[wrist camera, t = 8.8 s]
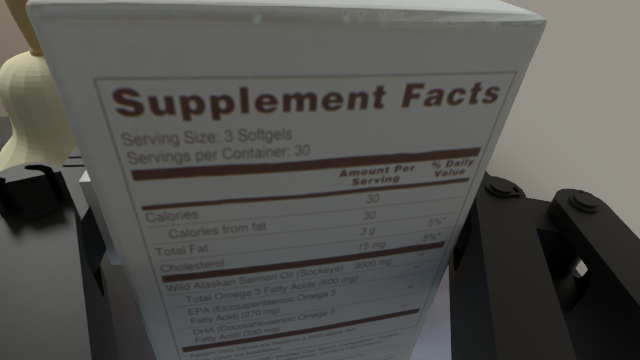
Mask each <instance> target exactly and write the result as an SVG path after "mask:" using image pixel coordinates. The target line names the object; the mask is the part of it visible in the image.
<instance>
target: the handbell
mask: <svg viewBox="0 0 640 360" xmlns="http://www.w3.org/2000/svg"><path fill="white" fill-rule="evenodd" d="M5 2H6V5H7V6H8V8H9V10H10V12H11V14H12V16H13V18H14V20H15V21H16V23H17V25H18V27H19V28H20V30H21V32H22V34H23V36H24V37H25V39H26V41H27V42H28V45H29V46H30V49H29V51H28V52H25V53H22V54H19V55H16V56H15V57H13V58H11V59H9V60H7V61H6V62H5V63H4V64H3V66H2V67H1V69H0V100H1V103H2V105H3V106H4V108H5V110H6V112H7V114H8V116H9V118H10V121H11V123H12V127H13V135H12V137H11V138H10V140H9V141H8V142H7V143H6V145H5V146H4V147H3V149H2V150H1V152H0V172H1V171H3V170H5V169H7V168H9V167H12V166H16V165H19V164H23V163H29V162H38V161H39V162H50V163H53V164H55V165H57V166H58V167H59V169H60V168H61V167H63V166H62V165H63V164H64V162H65V161H66V159H69V155H70V154H71V152H72V151H73V150H74V148H75V147H76V146H77V142H76V140H75V138H74V136H73V133H72V131H71V129H70V126H69V123H68V120H67V117H66V114H65V111H64V109H63V106H62V103H61V100H60V97H59V95H58V92H57V89H56V87H55V84H54V81H53V79H52V76H51V73H50V71H49V68H48V65H47V63H46V60H45V57H44V55H43V52H42V50H41V47H40V44H39V42H38V39H37V37H36V34H35V31H34V29H33V27H32V24H31V22H30V20H29V18H28V15H27V13H26V3H27V2H28V0H5Z"/></svg>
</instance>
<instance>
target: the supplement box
mask: <svg viewBox="0 0 640 360" xmlns="http://www.w3.org/2000/svg"><path fill="white" fill-rule="evenodd" d="M26 13H27V15H28V18H29V20H30V22H31V24H32V27H33V29H34V31H35V34H36V37H37V39H38V42H39V44H40V47H41V50H42V52H43V55H44V57H45V60H46V63H47V65H48V68H49V71H50V73H51V76H52V79H53V81H54V84H55V87H56V89H57V92H58V95H59V97H60V100H61V103H62V106H63V109H64V111H65V114H66V117H67V120H68V123H69V126H70V129H71V131H72V133H73V136H74V138H75V140H76V142H77V145H78V147H79V150H80V153H81V156H82V159H83V162H84V165H85V168H86V170H87V173H88V175H89V178H90V181H91V183H92V186H93V188H94V191H95V193H96V196H97V198H98V201H99V204H100V206H101V209H102V212H103V215H104V218H105V221H106V224H107V226H108V229H109V232H110V235H111V237H112V240H113V243H114V246H115V249H116V251H117V254H118V257H119V260H120V262H121V265H122V268H123V271H124V273H125V276H126V279H127V281H128V284H129V287H130V290H131V292H132V295H133V298H134V300H135V303H136V305H137V308H138V311H139V313H140V316H141V319H142V321H143V324H144V327H145V329H146V332H147V335H148V337H149V340H150V342H151V345H152V347H153V350H154V353H155V356H156V358H157V360H409V358H410V356H411V353H412V351H413V348H414V346H415V343H416V341H417V338H418V336H419V334H420V331H421V328H422V326H423V324H424V322H425V319H426V316H427V314H428V311H429V309H430V307H431V304H432V302H433V300H434V297H435V294H436V292H437V290H438V287H439V285H440V282H441V279H442V277H443V274H444V272H445V270H446V267H447V265H448V262H449V260H450V257H451V255H452V252H453V250H454V248H455V245H456V243H457V240H458V238H459V235H460V232H461V230H462V228H463V226H464V223H465V220H466V217H467V215H468V213H469V210H470V208H471V205H472V203H473V200H474V198H475V196H476V193H477V191H478V188H479V186H480V183H481V181H482V178H483V176H484V174H485V171H486V169H487V166H488V164H489V161H490V159H491V156H492V154H493V151H494V149H495V146H496V144H497V141H498V139H499V137H500V134H501V132H502V129H503V126H504V124H505V121H506V119H507V117H508V115H509V112H510V110H511V107H512V105H513V102H514V100H515V98H516V95H517V93H518V90H519V88H520V85H521V83H522V81H523V78H524V76H525V73H526V71H527V68H528V66H529V63H530V61H531V59H532V57H533V55H534V52H535V50H536V48H537V46H538V43H539V41H540V38H541V36H542V34H543V31H544V29H545V27H546V20H545V19H544V17H542V16H540V15H538V14H536V13H533V12H530V11H528V10H525V9H522V8H519V7H517V6H514V5H511V4H508V3H505V2H503V1H499V0H28V2H27V3H26Z"/></svg>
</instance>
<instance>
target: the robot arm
mask: <svg viewBox="0 0 640 360" xmlns="http://www.w3.org/2000/svg"><path fill="white" fill-rule="evenodd" d="M62 166H63V167H61V168H60V169H59V167H58V166H57V165H55V164H53V163H50V162H39V161H38V162H29V163H23V164H19V165H16V166H12V167H9V168H7V169H5V170H3V171H1V172H0V214H1V216H2V217H3V218H2V220H1V221H0V360H119V357H118V351H117V345H116V340H115V334H114V328H113V322H112V317H111V311H110V305H109V299H108V293H107V288H106V282H105V276H104V273H103V271H102V268H101V266H100V262H101V260H102V258H103V255H104V253H105V251H106V253H107V255H108V258H109V260H110V263H111V265H121V262H120V260H119V257H118V254H117V251H116V249H115V246H114V243H113V240H112V237H111V235H110V232H109V229H108V226H107V224H106V221H105V218H104V215H103V212H102V209H101V206H100V204H99V201H98V198H97V196H96V193H95V191H94V188H93V186H92V183H91V181H90V178H89V175H88V173H87V170H86V168H85V165H84V162H83V159H82V156H81V153H80V150H79V147H78V145H77V146H76V147H75V148H74V150H73V151H72V152H71V154H70V155H69V159H66V161H65V162H64V164H63V165H62ZM581 260H582V261H583V262H584V264H585V265H586V267H587V268H588V270H587V272H586V273H585V274H584V275H583V276H581V275H580V274H579V273H578V271H577V270H576V269H575V268H576V267H577V265H578V263H579V262H580V261H581ZM448 265H449V290H450V322H451V355H452V360H640V239H639V238H638V237H637V236H636V235H635V234H634V233H633V232H632V231H631V230H630V228H629V227H628V226H627V225H626V224H625V223H624V222H623V221H622V220H621V219H620V218H619V217H618V216H617V215H616V214H615V213H614V212H613V211H612V209H611V208H610V207H609V206H608V205H607V204H605V203H604V202H603V201H602V200H600V199H599V198H597V197H595V196H593V195H592V194H591V193H588V192H584V191H582V190H575V189H561V190H559V191H557V192H556V195H555V196H554V198H553V200H552V201H551V202H549V201H543V200H537V199H531V198H526V195H525V194H524V192H523V190H522V189H521V188H519V187H518V186H517V185H516V184H514V183H512V182H510V181H508V180H506V179H503V178H499V177H493V176H490V175H489V174H488V173H487V172H486V171H485V174H484V176H483V178H482V181H481V183H480V186H479V188H478V191H477V193H476V196H475V198H474V200H473V203H472V205H471V208H470V210H469V213H468V215H467V217H466V220H465V223H464V226H463V228H462V230H461V232H460V235H459V238H458V240H457V243H456V245H455V248H454V250H453V252H452V255H451V257H450V260H449V262H448ZM446 268H447V267H446Z"/></svg>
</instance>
